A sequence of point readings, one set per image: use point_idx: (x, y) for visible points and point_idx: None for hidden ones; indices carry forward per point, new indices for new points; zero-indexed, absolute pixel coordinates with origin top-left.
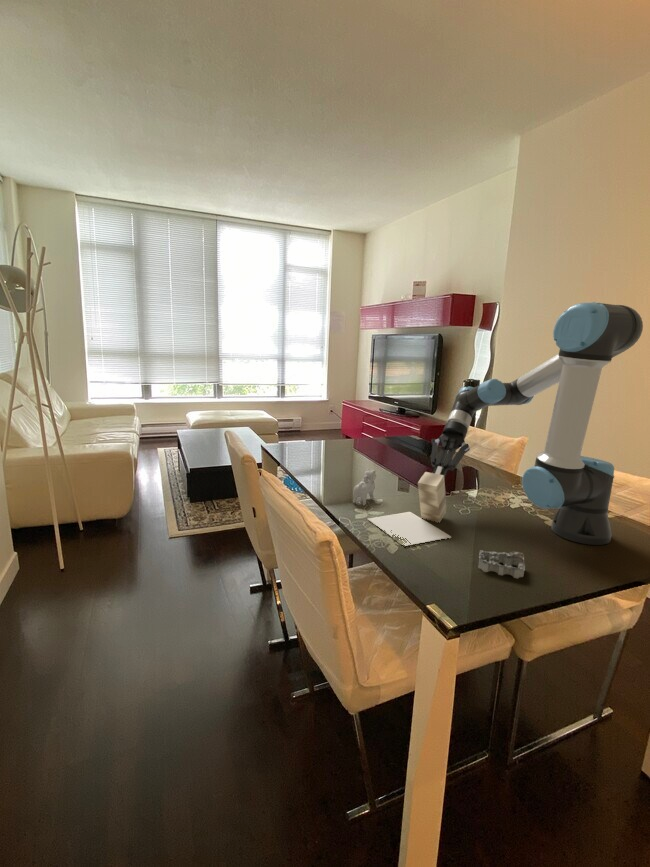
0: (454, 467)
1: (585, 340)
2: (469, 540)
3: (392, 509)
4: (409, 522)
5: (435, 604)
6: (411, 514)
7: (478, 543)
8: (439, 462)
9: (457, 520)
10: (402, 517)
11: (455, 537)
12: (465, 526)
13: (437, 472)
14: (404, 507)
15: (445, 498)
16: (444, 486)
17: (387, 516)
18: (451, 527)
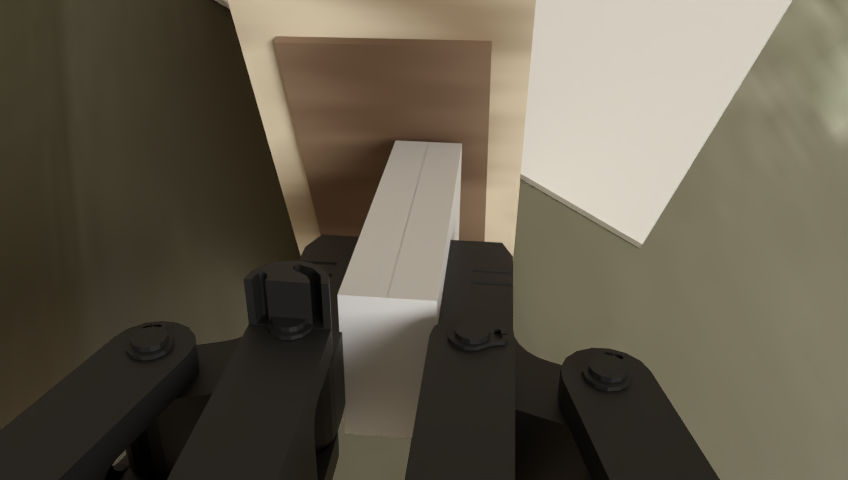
0: (114, 465)
1: None
2: (93, 35)
3: (810, 237)
4: (542, 32)
5: None
6: (600, 188)
7: (34, 27)
8: (426, 373)
9: (231, 335)
10: (633, 86)
11: (185, 25)
12: (151, 250)
13: (410, 225)
14: (748, 353)
15: (295, 230)
16: (260, 97)
17: (743, 37)
18: (245, 167)
